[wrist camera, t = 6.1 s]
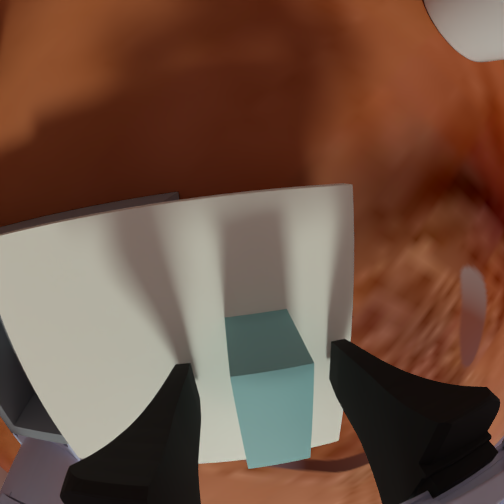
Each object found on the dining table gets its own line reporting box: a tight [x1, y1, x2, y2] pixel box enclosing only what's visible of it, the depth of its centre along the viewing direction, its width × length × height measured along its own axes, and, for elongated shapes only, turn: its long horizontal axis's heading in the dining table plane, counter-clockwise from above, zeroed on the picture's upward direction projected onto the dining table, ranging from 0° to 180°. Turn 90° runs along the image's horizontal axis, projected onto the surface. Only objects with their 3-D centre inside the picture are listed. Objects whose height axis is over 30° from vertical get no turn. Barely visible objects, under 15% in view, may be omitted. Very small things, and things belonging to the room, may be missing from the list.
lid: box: [0, 183, 354, 469], centre depth 10 cm, size 14×16×4 cm
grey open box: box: [0, 192, 179, 444], centre depth 15 cm, size 14×16×5 cm
